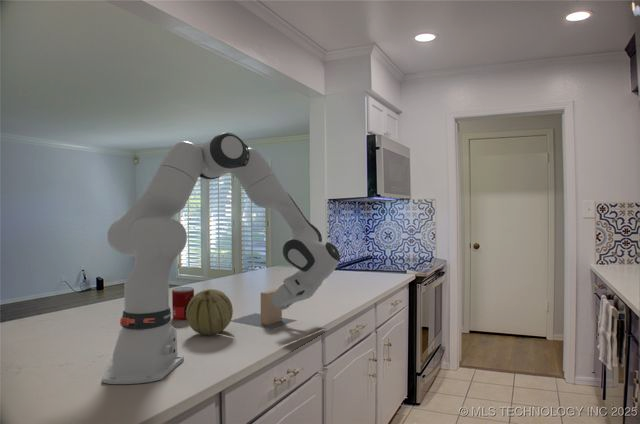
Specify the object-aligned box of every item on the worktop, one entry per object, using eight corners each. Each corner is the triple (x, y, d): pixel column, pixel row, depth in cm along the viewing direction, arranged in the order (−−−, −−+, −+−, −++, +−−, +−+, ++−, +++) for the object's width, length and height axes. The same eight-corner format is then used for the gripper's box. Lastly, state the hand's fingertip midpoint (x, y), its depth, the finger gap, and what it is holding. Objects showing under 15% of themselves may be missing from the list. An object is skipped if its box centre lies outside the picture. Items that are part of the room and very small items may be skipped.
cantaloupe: (228, 326, 155) (228, 283, 155) (236, 337, 141) (236, 290, 141) (184, 330, 150) (184, 286, 149) (188, 343, 136) (187, 294, 136)
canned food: (188, 320, 163) (187, 290, 163) (168, 319, 165) (168, 290, 165) (197, 315, 171) (197, 287, 171) (178, 314, 172) (178, 286, 172)
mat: (296, 321, 161) (296, 320, 161) (271, 330, 149) (271, 329, 149) (255, 314, 172) (255, 313, 172) (229, 322, 160) (229, 320, 160)
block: (281, 320, 161) (281, 289, 161) (267, 325, 154) (267, 293, 154) (275, 319, 163) (275, 289, 163) (260, 323, 156) (260, 292, 156)
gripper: (317, 271, 160) (295, 295, 165) (281, 278, 143) (259, 305, 148) (328, 284, 157) (305, 309, 163) (293, 294, 140) (269, 320, 146)
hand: (283, 307), depth 155 cm, fingers closed
